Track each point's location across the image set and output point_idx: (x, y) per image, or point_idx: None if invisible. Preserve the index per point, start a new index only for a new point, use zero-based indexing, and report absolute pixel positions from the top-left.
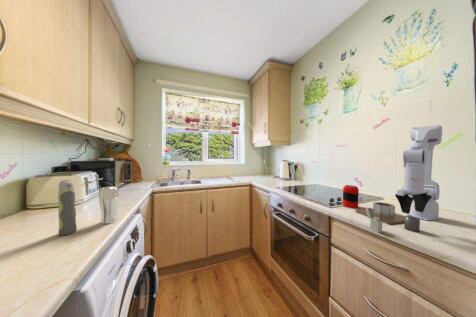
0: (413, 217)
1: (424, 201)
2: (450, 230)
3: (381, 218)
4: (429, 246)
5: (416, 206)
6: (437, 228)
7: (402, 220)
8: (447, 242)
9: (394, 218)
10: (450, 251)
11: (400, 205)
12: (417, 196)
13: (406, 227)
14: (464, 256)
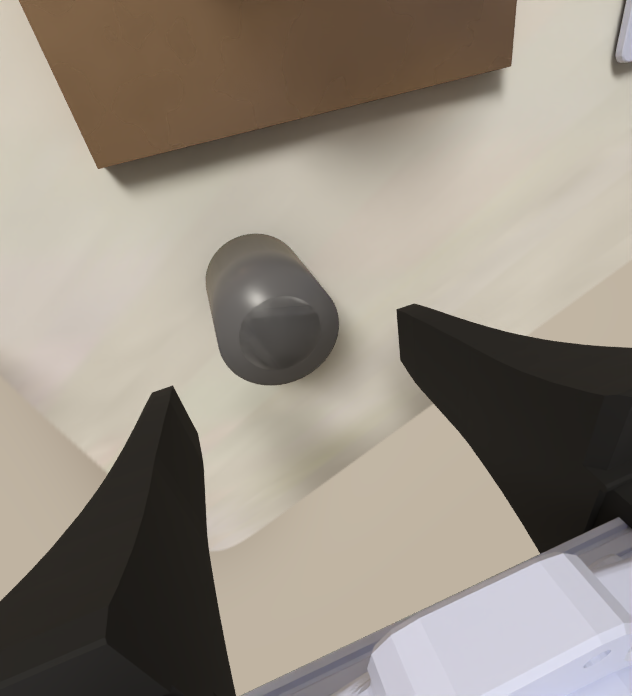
0: (301, 326)
1: (494, 474)
2: (522, 268)
3: (80, 1)
4: None
5: (432, 341)
6: (484, 240)
7: (331, 106)
8: (302, 433)
9: (294, 17)
10: (212, 514)
11: (120, 460)
12: (554, 457)
13: (207, 294)
14: (231, 535)
